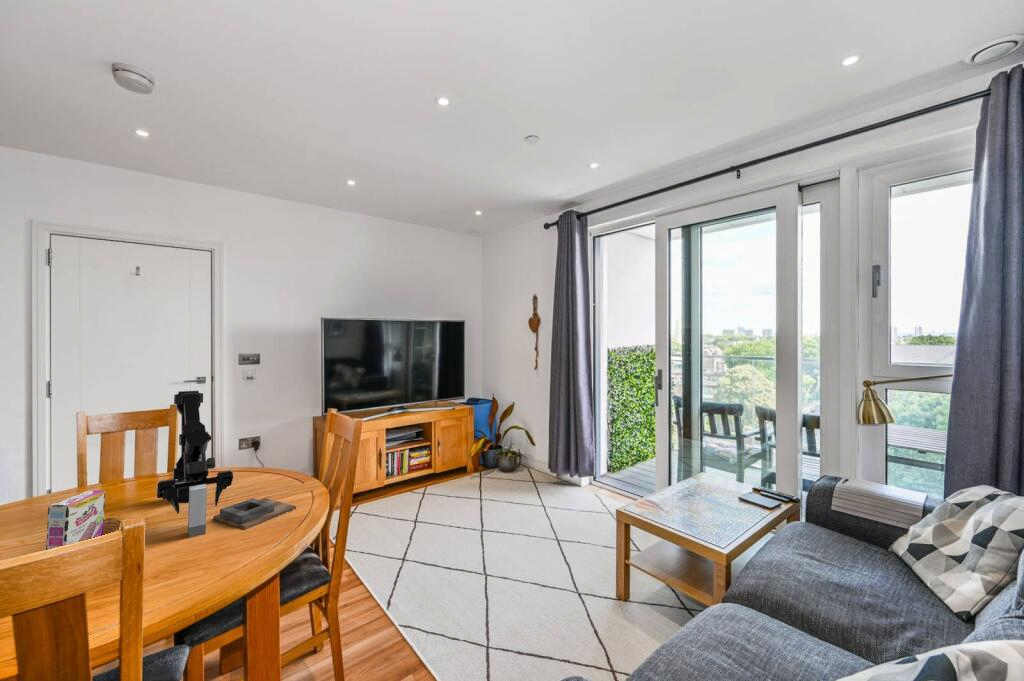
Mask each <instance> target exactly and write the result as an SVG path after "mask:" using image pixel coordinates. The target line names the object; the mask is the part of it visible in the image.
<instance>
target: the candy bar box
mask: <svg viewBox="0 0 1024 681" xmlns="http://www.w3.org/2000/svg"><path fill="white" fill-rule="evenodd" d="M105 498H106V491H105V490H86V491H84V492H81V493H78V494H76V495H73V496H70V497H68V498H65V499H62V500H60V501H57V502H55V503H52V504H49V505H48V506H47V523H46V524H47V525H46V547H45V548H46V549H45V551H46V550H48V549H52V548H55V547H59V546H64V545H68V544H72V543H76V542H80V541H84V540H88V539H92V538H95V537H98V536H102V535H103V525H104V520H105V518H104V517H105V501H106V499H105Z"/></svg>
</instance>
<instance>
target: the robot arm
mask: <svg viewBox="0 0 1024 681" xmlns="http://www.w3.org/2000/svg"><path fill="white" fill-rule="evenodd" d="M203 403H204V393H203V392H199V390H182V391H180V390H179V391H178V392H177V393H176V394H174V396H173V405H175V409H176V411H177V412H178V413H179V415H180V417H181V419H180V420H181V423H180V424H181V428H180V429H181V431H180V432H181V433H179V435H178V446H180V447H181V448H180V453H181V454H180V457H179V458H178V460H177V461H176V463H175V468H173V470H172V471H173V472H172V479H171V478H170V479H164V480H160V481H158V482H157V484H156V485H157V486H156V498H157V499H162V500H165V501H166V500H167V501H168V503H170V505H171V506H172V507H173V509H174V510H175V512H176V513H177V514H179V513H180V504H179V503H189V487H190V486H196V485H202V484H206V486H207V485H212V484H216V485H215V486H216V487H215V494H214V495H215V496H214V507H218V504H219V503H218V502H219V499H220V497H221V494H222V493H223V490H226V489H227V488H228V487H230V486H231V485H232V483H233V480H234V472H233V471H232V470H225V471H224V470H223V471H218V472H217V475H216V476H214V477H212V476H211V477H209V470H211V469H215V467H216V459H215V457H214V456H213V457H208V458H207V454H206V452H207V450H208V444H209V442H210V441H212V435H210V433H209V432H208V431H206V425H205V424H204V423H202V422H201V418H200V417H201V416H200V407H201V404H203Z"/></svg>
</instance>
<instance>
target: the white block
mask: <svg viewBox="0 0 1024 681" xmlns="http://www.w3.org/2000/svg"><path fill="white" fill-rule="evenodd" d="M207 499H208V487H207V485H206V484H202V485H196V486H190V487H189V502H188V512H187V514H188V516H187V517H188V518H187V535H189V536H188V538H189V537H190V538H194V537H199V536H201V535H202V534H203V535H206V533H207V530H206V528H207V525H206V524H207V503H208V502H207V501H208V500H207ZM198 535H199V536H198ZM203 535H202V536H203ZM193 536H194V537H193Z"/></svg>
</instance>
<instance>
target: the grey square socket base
mask: <svg viewBox="0 0 1024 681" xmlns="http://www.w3.org/2000/svg"><path fill="white" fill-rule="evenodd" d="M295 508H296V509H297V505H293V504H290V503H285V502H281V501H279V500H274V499H271V498H267V497H264V498H261V499H257V498H253V497H252V498H249V499H246V500H243V501H240V502H238V503H234V504H232V505H230V506H227V507H223V508H220V509H219V514H215V515H213V516H212V517H213V518H214V519H216V520H215V521H217V520H219V521H218V522H220V521H222V522H221V523H224V522H225V523H224V524H227V523H228V525H231V526H234V527H236V528H239V529H243V530H249V529H250V528H253V527H255V526H257V525H260V524H263V523H265V522H267V520H268V521H270V520H273V519H275V518H278V517H280V516H282V515H281V514H283V515H285V514H287V513H286V512H288V513H290V512H292V511H294V510H293V509H295ZM296 509H295V510H296ZM291 510H292V511H291ZM289 511H290V512H289ZM284 513H285V514H284ZM279 515H280V516H279ZM277 516H278V517H277ZM274 517H275V518H274ZM213 518H212V519H213ZM272 518H273V519H272ZM214 519H213V520H214Z"/></svg>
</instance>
